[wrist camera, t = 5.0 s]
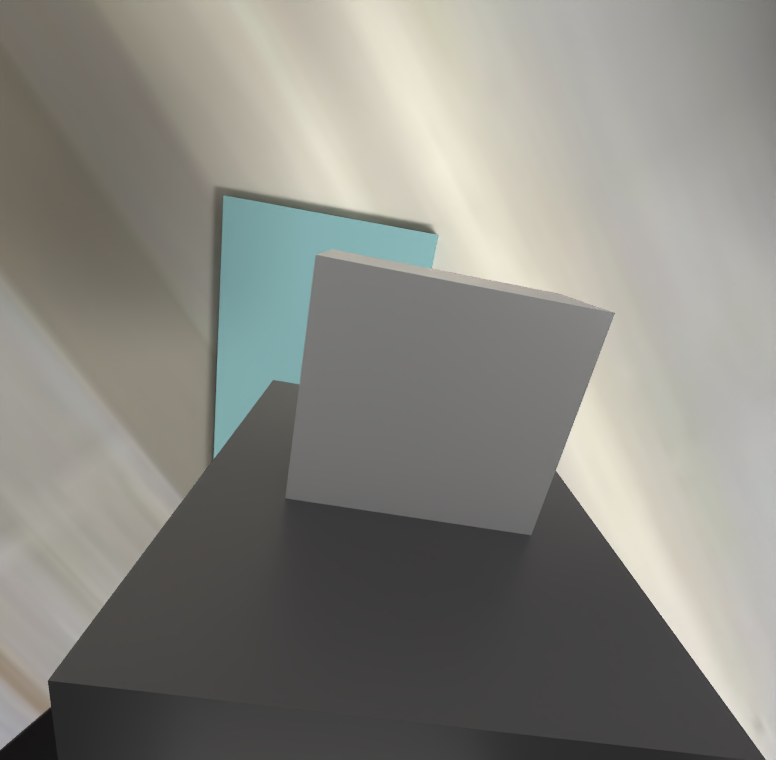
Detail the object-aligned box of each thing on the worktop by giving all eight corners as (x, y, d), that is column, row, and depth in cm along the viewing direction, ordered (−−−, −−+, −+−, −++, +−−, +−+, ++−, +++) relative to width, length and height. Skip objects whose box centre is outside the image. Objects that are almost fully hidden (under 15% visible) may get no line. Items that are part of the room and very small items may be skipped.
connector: (413, 747, 10) (439, 1175, 6) (237, 728, 10) (109, 1167, 5) (564, 287, 7) (1031, 429, 2) (288, 233, 6) (-7, 233, 2)
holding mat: (378, 529, 20) (377, 535, 20) (215, 507, 20) (211, 512, 19) (437, 235, 16) (438, 234, 15) (227, 196, 15) (223, 195, 15)
